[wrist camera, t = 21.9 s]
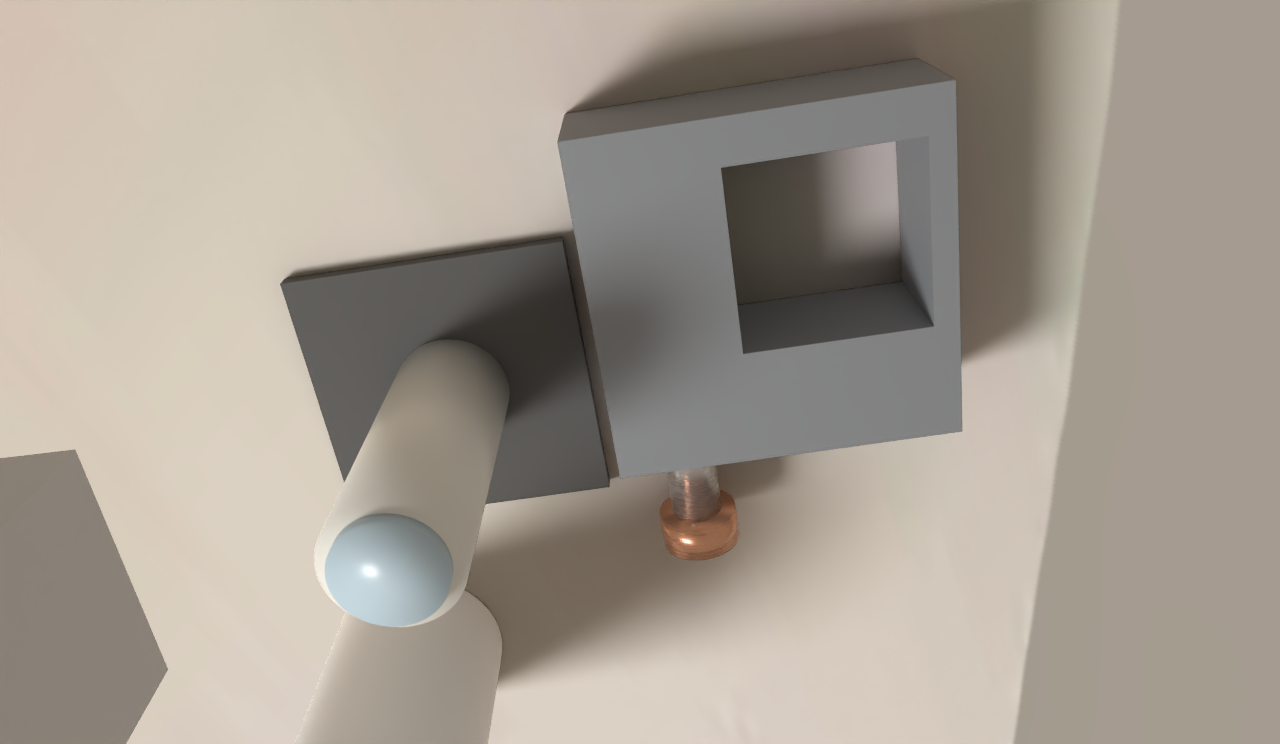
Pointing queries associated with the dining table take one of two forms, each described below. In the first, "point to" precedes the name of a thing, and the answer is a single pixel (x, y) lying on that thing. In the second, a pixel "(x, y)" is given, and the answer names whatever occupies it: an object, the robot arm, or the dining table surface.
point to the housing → (772, 330)
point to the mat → (469, 311)
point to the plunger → (698, 515)
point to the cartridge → (417, 489)
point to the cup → (409, 681)
